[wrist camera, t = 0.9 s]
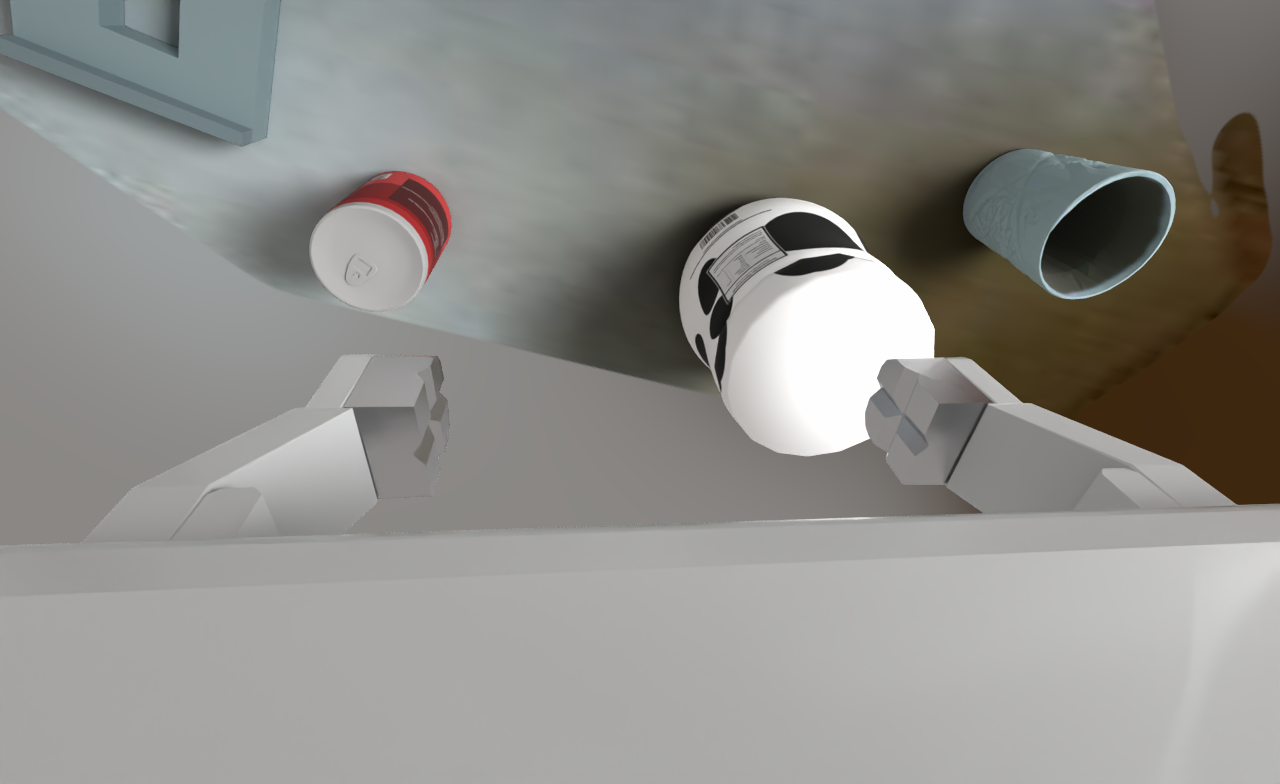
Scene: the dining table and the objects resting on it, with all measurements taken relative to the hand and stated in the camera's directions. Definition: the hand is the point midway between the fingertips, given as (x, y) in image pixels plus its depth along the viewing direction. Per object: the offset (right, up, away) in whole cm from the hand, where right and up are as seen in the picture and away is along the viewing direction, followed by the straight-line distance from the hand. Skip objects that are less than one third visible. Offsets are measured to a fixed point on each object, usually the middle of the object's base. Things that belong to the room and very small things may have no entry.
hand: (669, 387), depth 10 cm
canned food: (-21, +15, +37) cm, 45 cm away
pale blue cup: (+34, +18, +42) cm, 57 cm away
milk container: (+11, +11, +44) cm, 47 cm away
